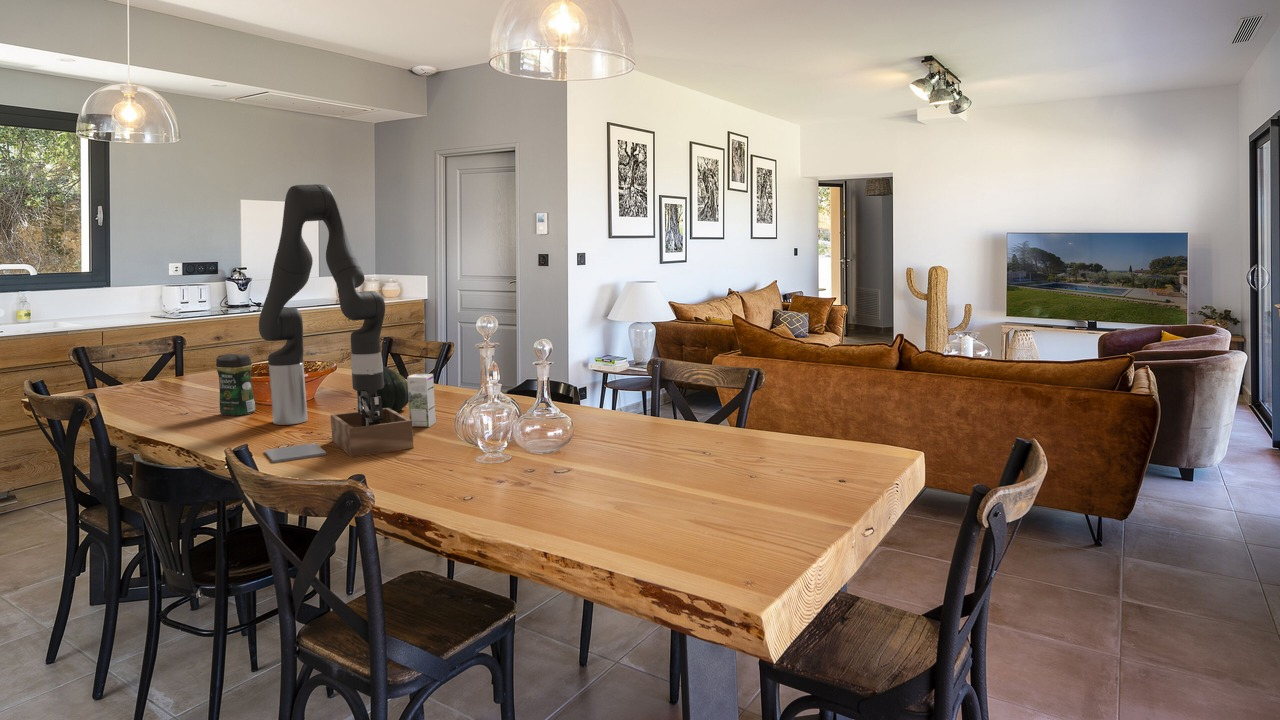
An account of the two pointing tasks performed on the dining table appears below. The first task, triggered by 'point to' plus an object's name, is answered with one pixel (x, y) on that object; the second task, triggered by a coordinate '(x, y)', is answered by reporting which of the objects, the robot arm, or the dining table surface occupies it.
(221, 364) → the coffee jar
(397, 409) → the squash
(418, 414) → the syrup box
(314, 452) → the slate pad
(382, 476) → the dining table surface
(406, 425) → the walnut box frame
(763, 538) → the dining table surface
